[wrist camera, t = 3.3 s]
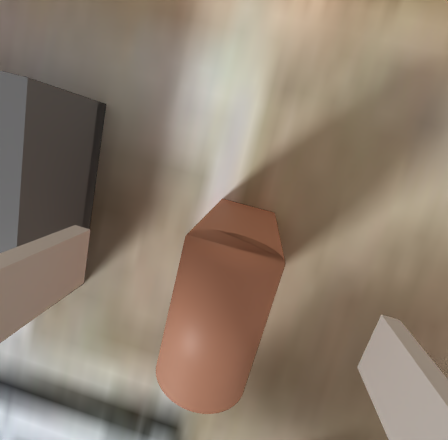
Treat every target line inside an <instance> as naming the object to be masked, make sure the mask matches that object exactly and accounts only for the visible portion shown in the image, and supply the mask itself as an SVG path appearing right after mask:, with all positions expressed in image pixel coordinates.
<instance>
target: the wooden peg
mask: <svg viewBox="0 0 448 440" xmlns="http://www.w3.org/2000/svg"><path fill="white" fill-rule="evenodd" d="M284 267H285V259H284V255H283V250H282V245H281V240H280V236H279V231H278V226H277V221H276V217H275V213H273V212H270V211H266V210H262V209H259V208H255V207H251V206H248V205H244V204H240V203H237V202H233V201H229V200H225V199H222V200H221V201H220V202H219V203H218V204H217V205H216V206H215V207H214V208H213V209H212V210H211V211H210V212H209V213H208V214H207V215H206V216H205V217H204V218H203V219H202V220H201V221H200V222H199V223H198V224H197V225H196V226H195V227H194V228H193V229H192V230H191V231H190V232H189V233H188V234H187V235H186V237H185V241H184V245H183V250H182V254H181V259H180V263H179V268H178V272H177V276H176V281H175V285H174V290H173V294H172V299H171V303H170V308H169V312H168V316H167V321H166V325H165V330H164V334H163V339H162V343H161V348H160V352H159V356H158V361H157V365H156V377H157V380H158V383H159V385H160V387H161V389H162V391H163V392H164V393H165V394H166V396H167V397H168V398H169V399H170V400H171V401H173V402H174V403H176V404H177V405H179V406H180V407H182V408H184V409H187V410H189V411H192V412H196V413H202V414H213V413H219V412H223V411H225V410H227V409H229V408H231V407H233V406H234V405H235V404H236V403H237V402H238V401H239V400H240V398H241V396H242V395H243V392H244V389H245V386H246V383H247V380H248V377H249V374H250V371H251V367H252V364H253V361H254V358H255V355H256V352H257V349H258V346H259V343H260V340H261V337H262V334H263V331H264V328H265V325H266V322H267V319H268V316H269V313H270V310H271V307H272V303H273V300H274V297H275V294H276V291H277V288H278V285H279V282H280V279H281V276H282V273H283V270H284Z"/></svg>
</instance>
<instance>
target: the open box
mask: <svg viewBox="0 0 448 440" xmlns="http://www.w3.org/2000/svg"><path fill="white" fill-rule="evenodd" d="M105 108H106V104H104V103H101V102H98V101H95V100H92V99H89V98H86V97H83V96H80V95H77V94H75V93H72V92H69V91H66V90H63V89H60V88H57V87H54V86H51V85H48V84H45V83H42V82H39V81H36V80H33V79H30V78H27V77H23V76H19V75H16V74H12V73H8V72H4V71H0V253H2V252H5V251H8V250H10V249H13V248H16V247H18V246H21V245H23V244H26V243H29V242H31V241H34V240H37V239H39V238H42V237H45V236H47V235H50V234H52V233H55V232H58V231H60V230H63V229H66V228H68V227H71V226H74V225H77V226H80V227H84V228H87V229H89V228H90V221H91V213H92V206H93V198H94V191H95V183H96V176H97V168H98V161H99V153H100V145H101V138H102V130H103V123H104V115H105ZM80 286H81V285H80ZM80 286H79V287H80ZM77 288H78V287H77ZM77 288H76V289H77ZM73 291H74V290H73ZM73 291H72V292H73ZM70 293H71V292H70ZM70 293H69V294H70ZM66 296H67V295H66ZM63 298H64V297H63ZM63 298H62V299H63ZM59 301H60V300H59ZM55 304H56V303H55ZM52 306H53V305H52ZM45 311H46V310H45Z"/></svg>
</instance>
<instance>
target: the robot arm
mask: <svg viewBox="0 0 448 440" xmlns="http://www.w3.org/2000/svg"><path fill="white" fill-rule="evenodd" d="M89 238H90V229H87V228H84V227H80V226H77V225H74V226H71V227H68V228H66V229H63V230H60V231H58V232H55V233H52V234H50V235H47V236H45V237H42V238H39V239H37V240H34V241H31V242H29V243H26V244H23V245H21V246H18V247H16V248H13V249H10V250H8V251H5V252H2V253H0V343H1V342H2V341H4V340H5V339H6V338H8V337H9V336H11V335H12V334H13V333H15V332H16V331H18V330H19V329H20V328H22V327H23V326H24V325H26V324H27V323H29V322H30V321H31V320H33V319H34V318H36V317H37V316H38V315H40V314H41V313H43V312H44V311H45V310H47V309H48V308H50V307H51V306H52V305H54V304H55V303H57V302H58V301H59V300H61V299H62V298H63V297H65V296H66V295H68V294H69V293H70V292H72V291H73V290H75V289H76V288H77V287H79V286H80V285H82V284H83V283H84V278H85V270H86V262H87V254H88V246H89ZM357 368H358V370H359V372H360V375H361V377H362V379H363V382H364V384H365V386H366V389H367V391H368V393H369V396H370V398H371V400H372V403H373V405H374V407H375V410H376V412H377V414H378V417H379V419H380V421H381V424H382V426H383V428H384V430H385V433H386V435H387V437H388V440H448V379H447V378H446V376H445V375H444V374H443V373H442V371H441V370H440V369H439V368H438V366H437V365H436V364H435V363H434V362H433V360H432V359H431V358H430V357H429V355H428V354H427V353H426V352H425V350H424V349H423V348H422V347H421V345H420V344H419V343H418V342H417V340H416V339H415V338H414V337H413V336H412V334H411V333H410V332H409V331H408V329H407V328H406V327H405V326H404V324H403V323H402V322H401V321H400V320H399V319H395V318H392V317H388V316H385V315H382V314H381V316H380V318H379V321H378V323H377V325H376V327H375V329H374V331H373V334H372V336H371V338H370V340H369V342H368V345H367V347H366V349H365V351H364V353H363V356H362V358H361V360H360V362H359V364H358V367H357Z"/></svg>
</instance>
